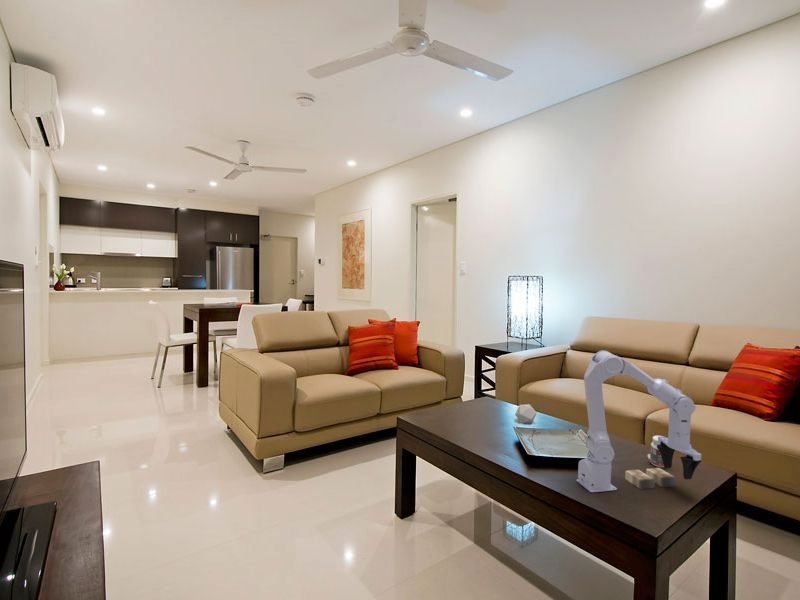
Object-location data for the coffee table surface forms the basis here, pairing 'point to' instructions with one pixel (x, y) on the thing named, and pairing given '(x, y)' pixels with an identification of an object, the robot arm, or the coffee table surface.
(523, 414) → the die
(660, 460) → the pill bottle
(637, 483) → the beech tile
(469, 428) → the coffee table surface
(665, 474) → the beech tile
